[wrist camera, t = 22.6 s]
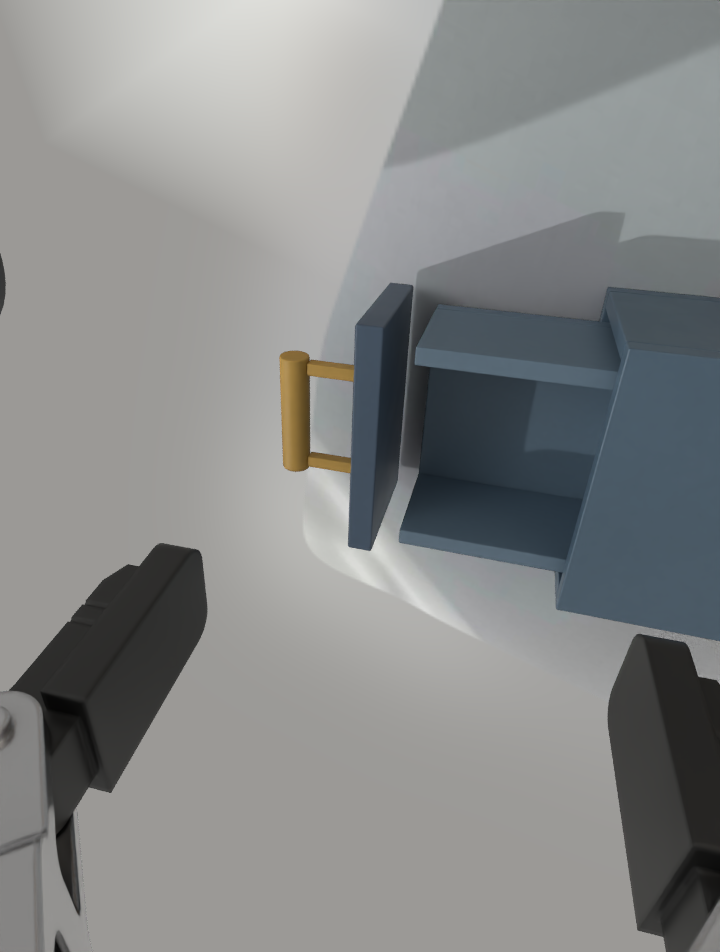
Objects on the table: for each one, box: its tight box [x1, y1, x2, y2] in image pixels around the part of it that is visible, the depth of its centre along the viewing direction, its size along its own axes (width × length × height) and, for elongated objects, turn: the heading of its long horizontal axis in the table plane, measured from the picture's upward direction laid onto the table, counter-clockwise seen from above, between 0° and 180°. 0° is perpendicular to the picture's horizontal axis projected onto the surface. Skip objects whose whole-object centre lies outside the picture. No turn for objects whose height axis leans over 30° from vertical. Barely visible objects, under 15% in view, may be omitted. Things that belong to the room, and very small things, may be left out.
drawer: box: [280, 283, 621, 573], centre depth 30 cm, size 17×11×7 cm
